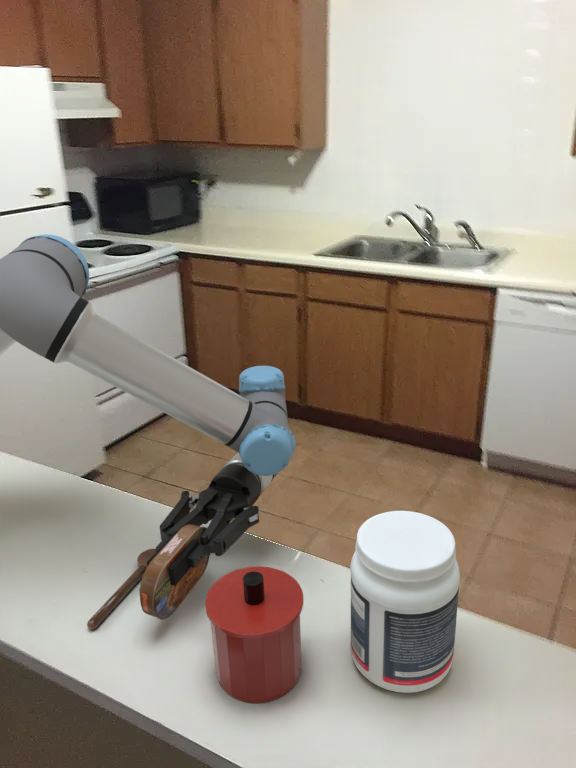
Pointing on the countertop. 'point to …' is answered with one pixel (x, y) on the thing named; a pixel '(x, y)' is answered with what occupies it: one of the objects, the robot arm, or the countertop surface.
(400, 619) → the supplement tub
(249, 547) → the countertop surface
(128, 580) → the spoon
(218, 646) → the pot
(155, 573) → the tin
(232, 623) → the pot lid
